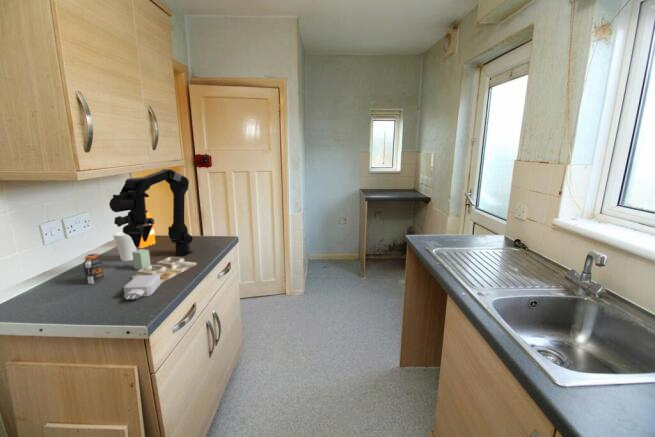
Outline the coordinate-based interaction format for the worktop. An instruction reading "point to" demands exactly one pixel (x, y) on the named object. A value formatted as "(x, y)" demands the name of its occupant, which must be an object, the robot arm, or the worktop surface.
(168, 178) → the robot arm
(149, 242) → the orange juice
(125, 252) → the foam cup
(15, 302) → the worktop surface
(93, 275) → the pill bottle
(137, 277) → the charger
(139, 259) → the plug
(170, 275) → the socket board
